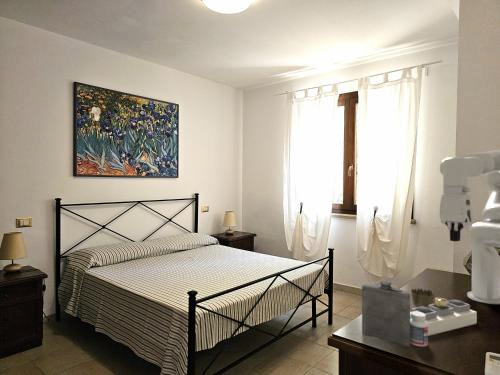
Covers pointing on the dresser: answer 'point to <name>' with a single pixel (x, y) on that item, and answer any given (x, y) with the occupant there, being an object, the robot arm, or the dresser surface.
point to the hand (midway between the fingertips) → (455, 240)
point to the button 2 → (457, 302)
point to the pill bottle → (418, 329)
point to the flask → (386, 313)
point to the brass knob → (441, 303)
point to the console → (448, 317)
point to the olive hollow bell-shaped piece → (422, 297)
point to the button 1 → (423, 309)
